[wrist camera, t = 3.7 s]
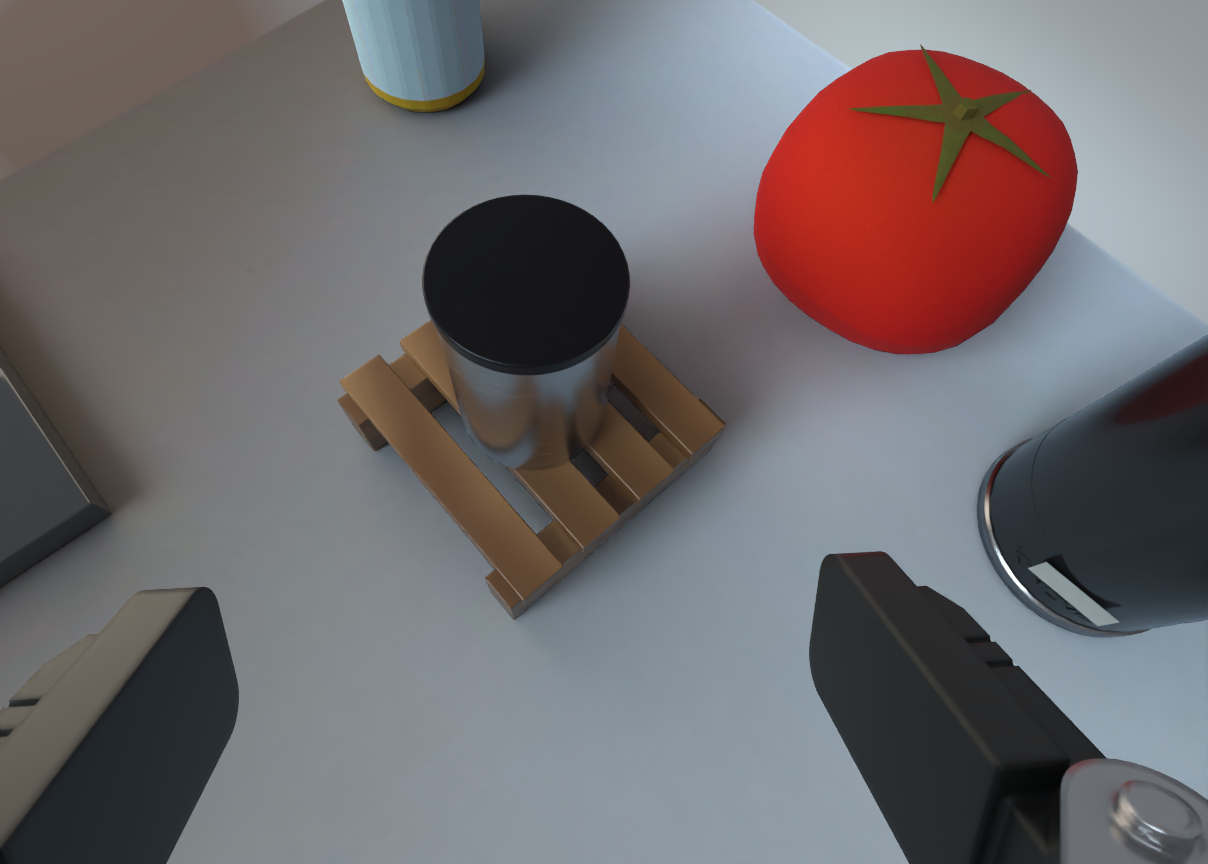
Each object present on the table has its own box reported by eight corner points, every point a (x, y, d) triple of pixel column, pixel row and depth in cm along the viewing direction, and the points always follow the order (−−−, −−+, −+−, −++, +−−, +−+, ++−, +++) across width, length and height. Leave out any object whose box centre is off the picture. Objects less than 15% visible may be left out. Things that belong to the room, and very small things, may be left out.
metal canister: (542, 314, 31) (539, 163, 23) (637, 411, 29) (672, 287, 21) (428, 395, 29) (379, 262, 21) (523, 504, 27) (512, 407, 19)
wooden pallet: (550, 287, 36) (550, 239, 32) (714, 451, 33) (733, 419, 29) (352, 424, 32) (328, 387, 29) (517, 624, 29) (512, 610, 26)
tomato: (1009, 257, 39) (1184, 78, 28) (909, 439, 34) (1074, 306, 23) (810, 147, 41) (901, -58, 30) (688, 303, 36) (746, 125, 25)
